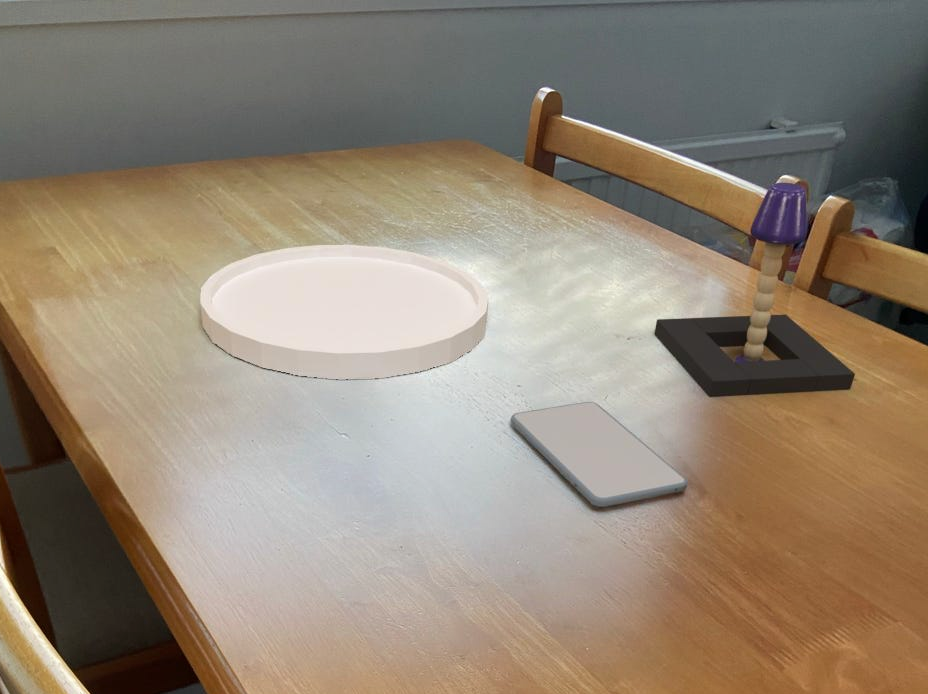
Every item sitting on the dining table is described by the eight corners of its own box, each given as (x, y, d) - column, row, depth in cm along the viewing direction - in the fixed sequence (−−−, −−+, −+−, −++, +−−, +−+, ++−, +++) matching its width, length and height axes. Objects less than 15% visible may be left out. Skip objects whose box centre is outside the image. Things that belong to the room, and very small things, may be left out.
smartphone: (594, 399, 86) (693, 482, 76) (593, 410, 87) (690, 493, 76) (507, 413, 84) (596, 501, 73) (506, 424, 84) (594, 513, 74)
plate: (143, 311, 99) (140, 286, 97) (353, 249, 115) (353, 227, 114) (336, 410, 85) (336, 383, 83) (544, 323, 101) (547, 299, 99)
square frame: (778, 343, 100) (786, 314, 98) (845, 405, 90) (855, 373, 88) (651, 349, 97) (656, 319, 96) (705, 413, 87) (713, 381, 86)
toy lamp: (718, 383, 92) (763, 191, 82) (717, 362, 96) (759, 176, 85) (771, 389, 92) (823, 197, 81) (768, 368, 95) (817, 181, 85)
